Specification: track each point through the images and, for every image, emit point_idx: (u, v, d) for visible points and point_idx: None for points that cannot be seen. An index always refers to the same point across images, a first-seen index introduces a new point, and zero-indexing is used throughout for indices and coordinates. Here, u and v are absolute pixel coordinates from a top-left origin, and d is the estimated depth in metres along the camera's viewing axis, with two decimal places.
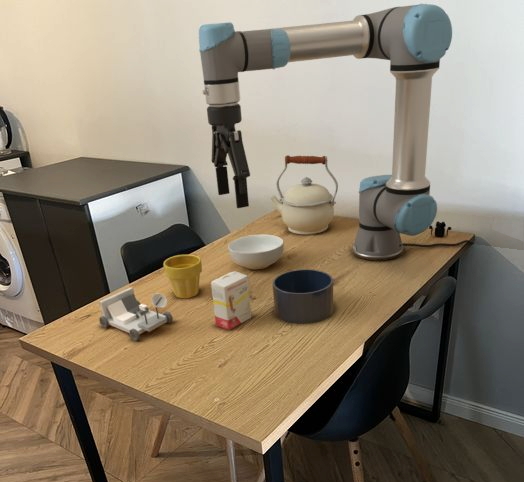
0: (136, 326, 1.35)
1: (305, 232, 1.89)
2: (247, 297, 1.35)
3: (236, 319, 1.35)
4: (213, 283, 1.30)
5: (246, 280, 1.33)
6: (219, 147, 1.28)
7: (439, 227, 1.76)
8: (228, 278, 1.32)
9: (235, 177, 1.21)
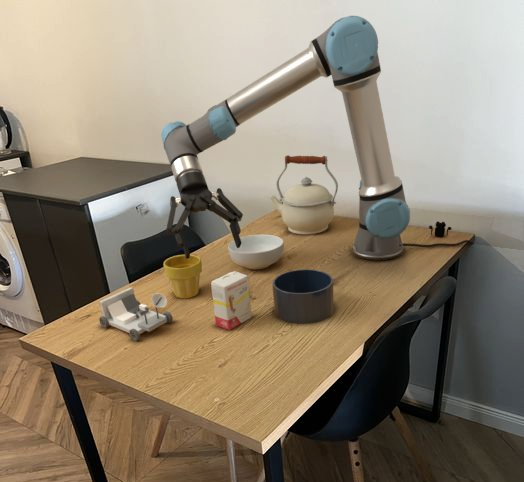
0: (136, 326, 1.35)
1: (305, 232, 1.89)
2: (247, 297, 1.35)
3: (236, 319, 1.35)
4: (213, 283, 1.30)
5: (246, 280, 1.33)
6: (210, 210, 1.43)
7: (439, 227, 1.76)
8: (228, 278, 1.32)
9: None
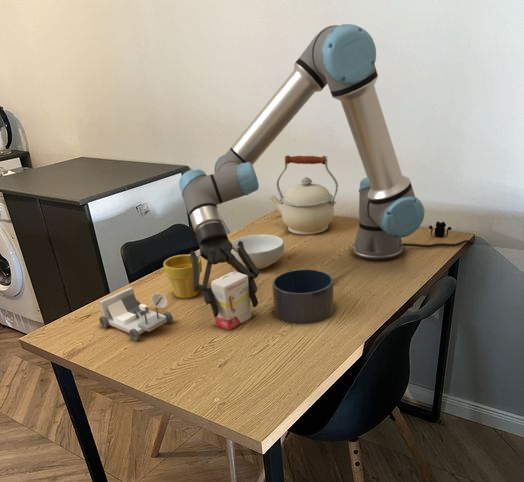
0: (136, 326, 1.35)
1: (305, 232, 1.89)
2: (247, 297, 1.35)
3: (236, 319, 1.35)
4: (213, 283, 1.30)
5: (246, 280, 1.33)
6: None
7: (439, 227, 1.76)
8: (228, 278, 1.32)
9: (201, 291, 1.34)
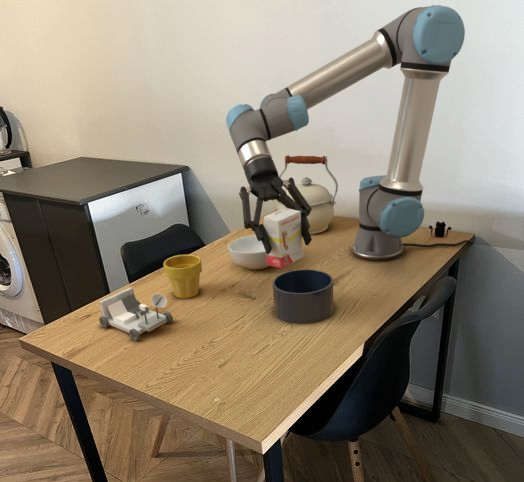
0: (136, 326, 1.35)
1: None
2: (299, 235, 1.30)
3: (288, 258, 1.30)
4: (266, 218, 1.25)
5: (299, 216, 1.28)
6: None
7: (439, 227, 1.76)
8: (281, 213, 1.27)
9: (252, 229, 1.29)
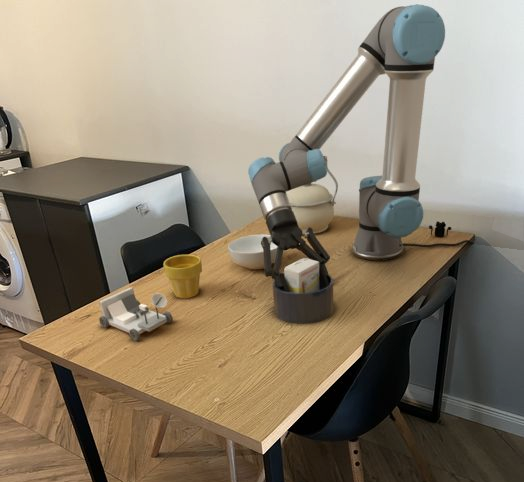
0: (136, 326, 1.35)
1: None
2: (317, 283, 1.38)
3: None
4: (286, 269, 1.33)
5: (317, 266, 1.36)
6: None
7: (439, 227, 1.76)
8: (300, 264, 1.34)
9: (272, 277, 1.36)
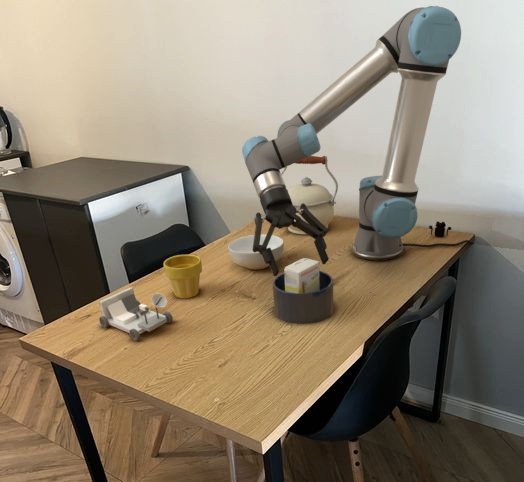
0: (136, 326, 1.35)
1: None
2: (317, 283, 1.38)
3: None
4: (286, 269, 1.33)
5: (317, 266, 1.36)
6: (294, 225, 1.40)
7: (439, 227, 1.76)
8: (300, 264, 1.34)
9: (259, 252, 1.36)
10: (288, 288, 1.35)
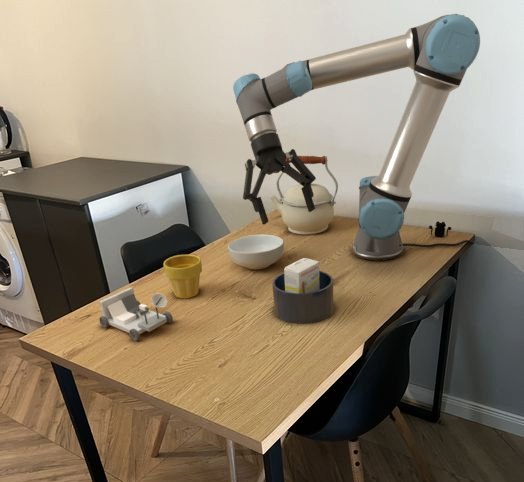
0: (136, 326, 1.35)
1: (305, 232, 1.89)
2: (317, 283, 1.38)
3: None
4: (286, 269, 1.33)
5: (317, 266, 1.36)
6: (283, 171, 1.44)
7: (439, 227, 1.76)
8: (300, 264, 1.34)
9: None
10: (288, 288, 1.35)
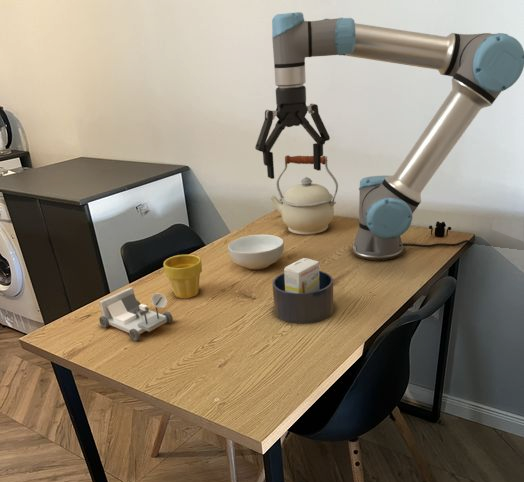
0: (136, 326, 1.35)
1: (305, 232, 1.89)
2: (317, 283, 1.38)
3: None
4: (286, 269, 1.33)
5: (317, 266, 1.36)
6: (301, 124, 1.42)
7: (439, 227, 1.76)
8: (300, 264, 1.34)
9: None
10: (288, 288, 1.35)
